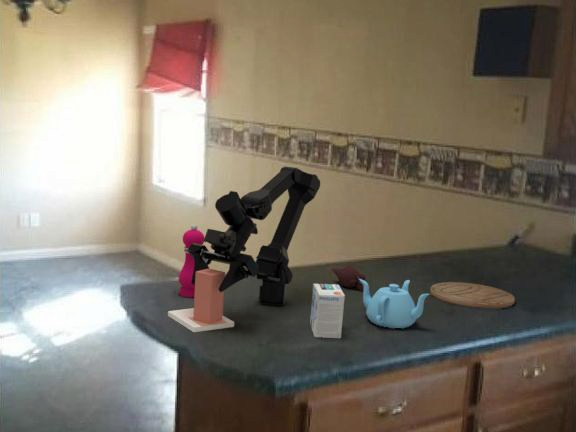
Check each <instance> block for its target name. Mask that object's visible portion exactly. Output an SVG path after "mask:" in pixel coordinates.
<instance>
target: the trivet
mask: <svg viewBox="0 0 576 432" xmlns="http://www.w3.org/2000/svg"><path fill="white" fill-rule="evenodd" d="M430 293H431V294H430ZM429 294H430V296H431V295H433V296H434V297H435V298H437V299H440V300H442V301H445V302H448V303H453V304H457V305H462V306H468V307H475V308H504V307H508V306H511V305H513V304H514V305H515V302H516V301H515V299H516V298H515V296H514V295H513V294H512V293H510V292H508V291H505V290H503V289H500V288H497V287H494V286H489V285H484V284H478V283H471V282H456V281H455V282H454V281H448V282H439V283H436V284H435V283H434V284H433V285H432V286H431V287H430V291H429ZM433 296H432V297H433ZM434 297H433V298H434ZM435 298H434V299H435ZM437 299H436V300H437ZM440 300H439V301H440ZM442 301H441V302H442ZM445 302H444V303H445ZM448 303H447V304H448Z"/></svg>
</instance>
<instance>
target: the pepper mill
mask: <svg viewBox="0 0 576 432" xmlns="http://www.w3.org/2000/svg"><path fill="white" fill-rule="evenodd" d="M190 228H191V229H188V230H186V231H185V232H184V233H183V235H182V243H183V245H185V246H184V247H183V248H184V249H183V252H184V253H185V254H184V255H185V258H184V263H183V266H182V268H181V270H180V272H179V275H178V283H179V285H180V286H181V287H180V288H179V295H180V296H182V297H184V298H194V295H195V285H192V283H191V281H192V275H193V270H194V259H193V258H192V257H191V255H190V254H189V253H188V251H187V250H188V248H189V247H190V245H191V244H194V243H196V244H200V245H204V244H205V242H204V238H205V235H204V233H203V232H202V231H200V230H199V229H198V225H197V224H196V223H192V224H191V226H190Z"/></svg>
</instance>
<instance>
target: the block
mask: <svg viewBox="0 0 576 432" xmlns="http://www.w3.org/2000/svg"><path fill="white" fill-rule="evenodd" d="M225 276H226V272H225V271H222V270H218V269H214V268H210V267H209V268H208V269H204V270H200V271H196V275H195V295H194V297H193V298H194V299H193V308H194V315H193V320H196V321H199V322H203V323H206V324H212V323H215V322H217V321H220V320H222V316H224V314H223V313H224V299H225V298H224V294H225V293H224V292H225V290H224V291H222V292H220V291H219V287H220V285H221V283H222V281H223V279H224V278H225Z"/></svg>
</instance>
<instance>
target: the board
mask: <svg viewBox="0 0 576 432" xmlns="http://www.w3.org/2000/svg"><path fill="white" fill-rule="evenodd" d="M193 315H194V307H192V308H184V309H176V310H175V309H173V310H169V311H167V317H169V318H170V319H172V320H174V322H177V323H178V324H180V325H182V326H183V327H185V328H186V329H188V330H189V331H191V332H192V333H199V332H206V331H212V330H221V329H228V328H234V327H235V321H234V320H231V319H230V318H228V317H227V316H224V315H223V316H222V320H220V321H217V322H215V323H212V324H206V323H203V322H199V321H196V320H193Z"/></svg>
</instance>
